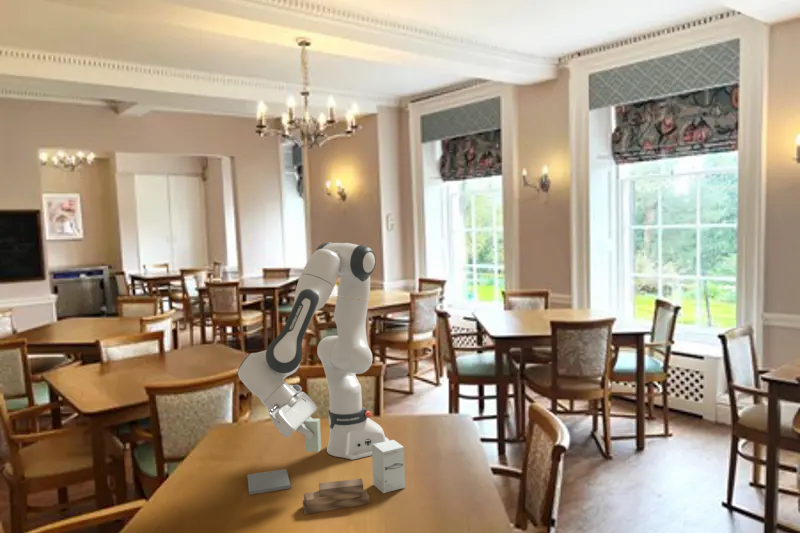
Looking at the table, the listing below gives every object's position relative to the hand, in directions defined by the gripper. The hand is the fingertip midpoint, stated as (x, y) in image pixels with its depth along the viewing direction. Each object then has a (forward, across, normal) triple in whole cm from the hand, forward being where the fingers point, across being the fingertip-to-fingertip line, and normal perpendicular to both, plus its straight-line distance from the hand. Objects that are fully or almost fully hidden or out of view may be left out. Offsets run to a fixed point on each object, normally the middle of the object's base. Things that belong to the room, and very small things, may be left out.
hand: (314, 434), depth 170 cm
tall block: (+3, 0, +4) cm, 5 cm away
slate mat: (0, +4, +24) cm, 24 cm away
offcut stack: (+18, -7, +6) cm, 20 cm away
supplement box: (+27, +6, -2) cm, 28 cm away
